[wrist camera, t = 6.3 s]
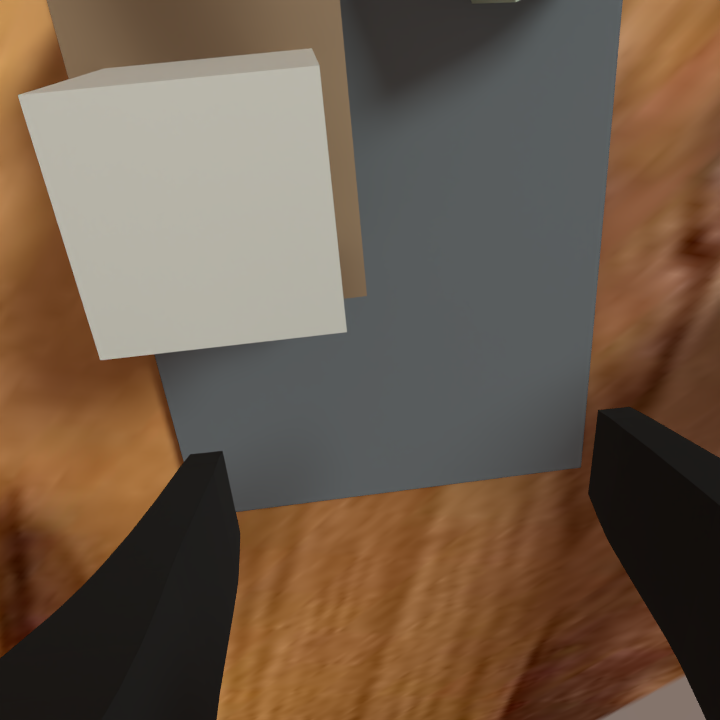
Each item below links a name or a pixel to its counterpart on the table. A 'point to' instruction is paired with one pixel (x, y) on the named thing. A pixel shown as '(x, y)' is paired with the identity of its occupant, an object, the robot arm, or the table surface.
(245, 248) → the cream cube
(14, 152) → the table surface
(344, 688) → the table surface
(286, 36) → the walnut block
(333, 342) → the mat
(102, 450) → the table surface
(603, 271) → the table surface
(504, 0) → the sage block
